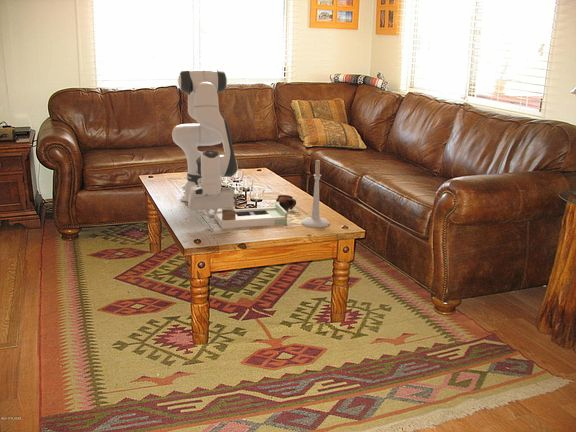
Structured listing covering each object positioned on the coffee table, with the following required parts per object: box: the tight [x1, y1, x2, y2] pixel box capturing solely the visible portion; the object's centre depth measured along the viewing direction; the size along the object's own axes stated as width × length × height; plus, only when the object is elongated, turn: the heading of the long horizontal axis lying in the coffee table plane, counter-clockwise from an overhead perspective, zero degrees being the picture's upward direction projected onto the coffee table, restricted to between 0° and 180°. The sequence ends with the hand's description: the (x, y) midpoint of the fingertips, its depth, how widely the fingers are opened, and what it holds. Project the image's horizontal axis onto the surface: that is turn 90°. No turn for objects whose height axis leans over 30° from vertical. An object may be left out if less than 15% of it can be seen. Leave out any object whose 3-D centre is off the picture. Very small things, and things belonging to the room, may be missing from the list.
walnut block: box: [221, 207, 236, 220], centre depth 278 cm, size 5×5×4 cm
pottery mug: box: [275, 194, 297, 212], centre depth 304 cm, size 12×10×8 cm
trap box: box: [214, 202, 288, 230], centre depth 284 cm, size 16×30×6 cm, turn 107°
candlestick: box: [300, 159, 330, 229], centre depth 280 cm, size 13×13×30 cm
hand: (211, 218), depth 276 cm, fingers closed
